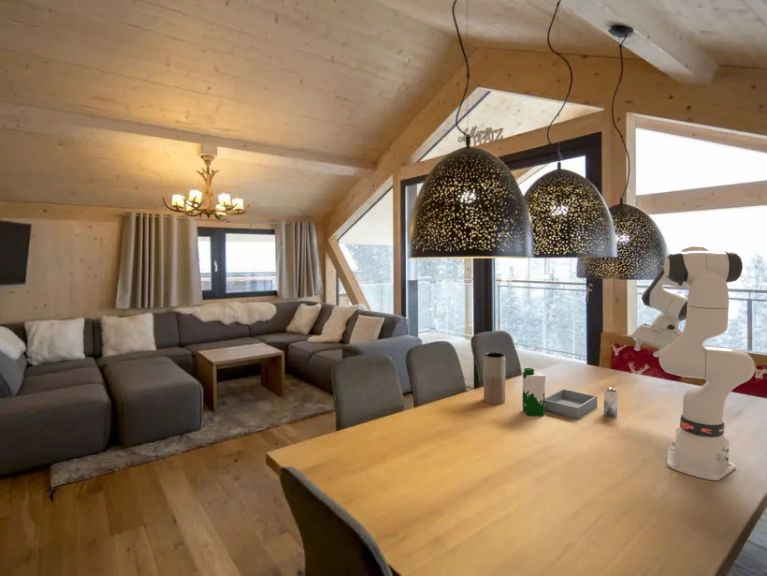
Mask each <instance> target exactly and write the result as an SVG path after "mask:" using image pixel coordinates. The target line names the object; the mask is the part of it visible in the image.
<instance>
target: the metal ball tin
mask: <svg viewBox="0 0 767 576" xmlns="http://www.w3.org/2000/svg"><path fill="white" fill-rule="evenodd" d="M618 395H619V391H618V390H616V388H613V387H608V388H605V389H604V391H603V416H604V417H607V418H612V419H613V418H614V419H615V418H617V417H618V400H619V399H618Z"/></svg>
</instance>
